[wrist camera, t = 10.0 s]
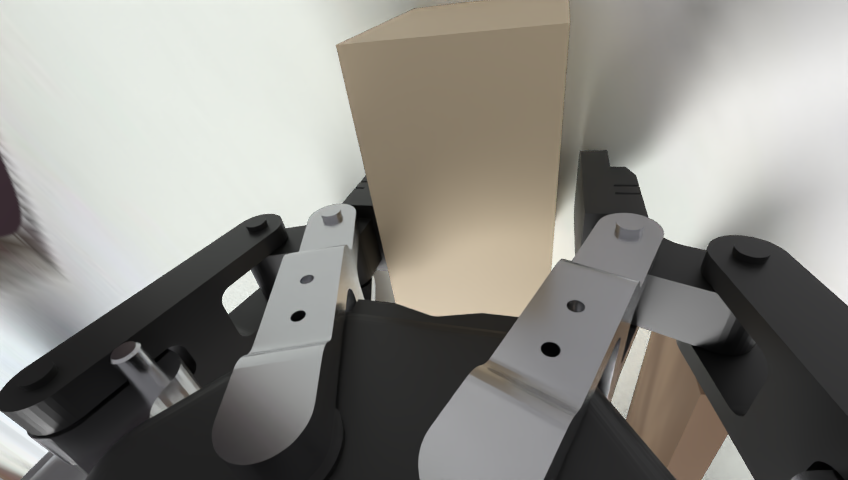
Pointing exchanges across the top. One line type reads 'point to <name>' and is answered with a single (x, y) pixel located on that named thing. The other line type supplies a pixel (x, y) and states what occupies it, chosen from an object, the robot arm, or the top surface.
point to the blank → (463, 148)
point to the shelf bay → (674, 412)
